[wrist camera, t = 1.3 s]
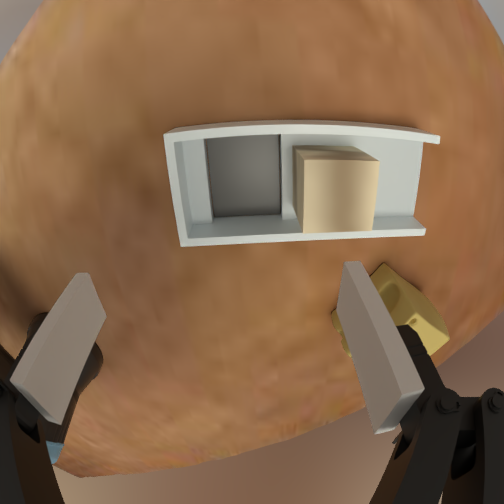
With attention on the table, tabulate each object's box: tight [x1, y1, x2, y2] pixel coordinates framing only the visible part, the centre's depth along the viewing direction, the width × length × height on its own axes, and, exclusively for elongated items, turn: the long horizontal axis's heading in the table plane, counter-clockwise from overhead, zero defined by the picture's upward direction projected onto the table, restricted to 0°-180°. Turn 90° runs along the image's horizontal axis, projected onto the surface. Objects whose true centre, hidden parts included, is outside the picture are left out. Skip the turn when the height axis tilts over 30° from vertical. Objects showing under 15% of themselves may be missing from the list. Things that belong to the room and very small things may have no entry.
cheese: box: [332, 263, 450, 358], centre depth 33 cm, size 10×11×10 cm
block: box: [292, 145, 380, 234], centre depth 24 cm, size 6×6×6 cm
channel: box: [163, 120, 440, 247], centre depth 26 cm, size 25×11×4 cm, turn 93°
